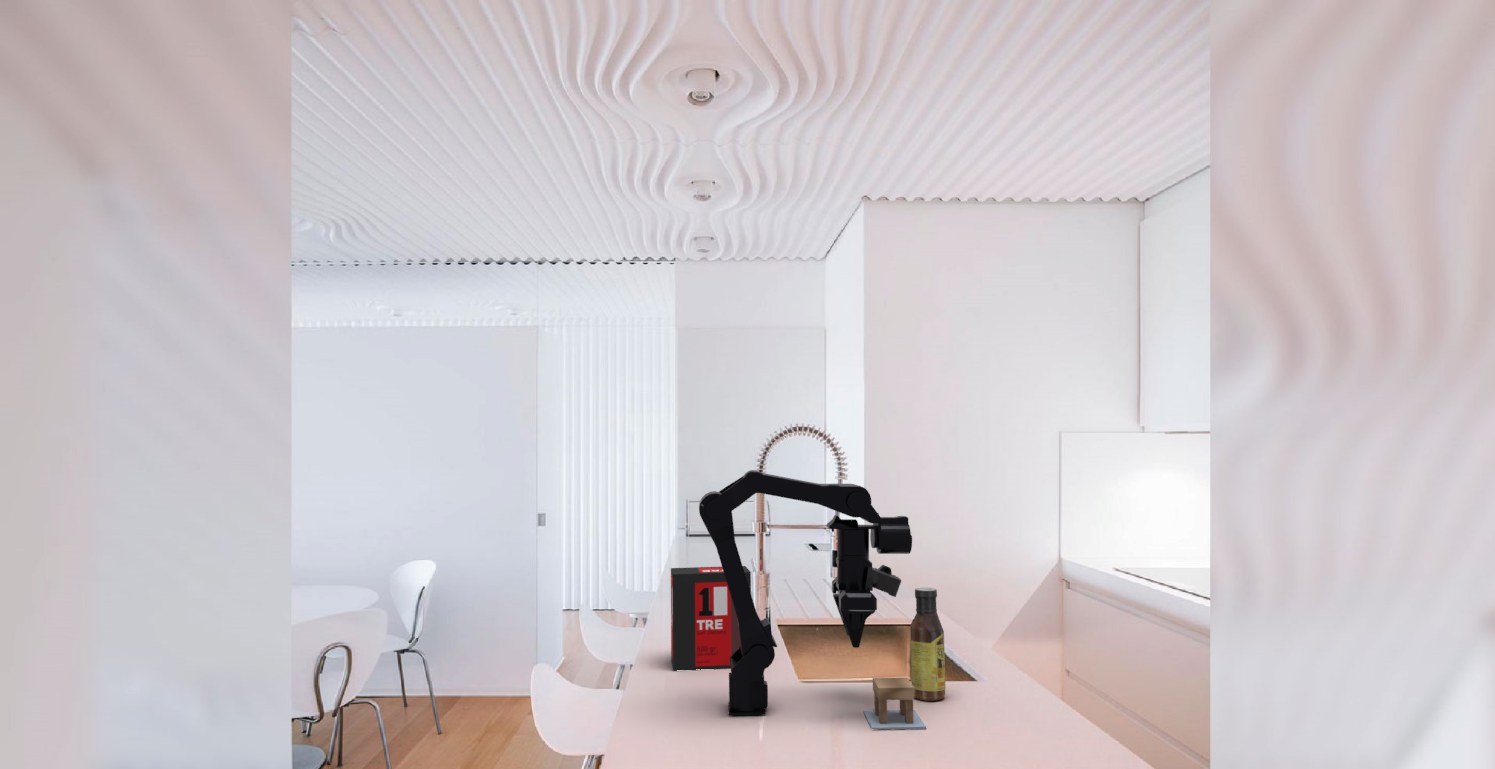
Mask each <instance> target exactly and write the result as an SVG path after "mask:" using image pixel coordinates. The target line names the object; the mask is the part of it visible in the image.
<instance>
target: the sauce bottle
mask: <svg viewBox="0 0 1495 769" xmlns="http://www.w3.org/2000/svg"><path fill="white" fill-rule="evenodd" d="M937 597H938V591H937V589H936V588H934V587H918V588H915V589H914V598H915V605H916V606H915V607H916V608H915V612H916V614H915V616H914V617H913V618H912V620H911V623H910V640H909V642H910V644H909V645H910V647H909V648H910V674H911V675H910V676H911V677H910V680H911V681H910V682H911V684H912V685H913V687H914V699H916V700H921V701H927V702H928V701H930V702H931V701H932V702H935V701H940V700H943V699H944V698H945V695H946V658H945V656H946V655H945V654H946V653H945V652H946V651H945V650H946V649H945V631H944V629H943V625H942V623H941V620H940V618H939V615H938V614H939V613H938V609H937Z"/></svg>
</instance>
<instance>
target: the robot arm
mask: <svg viewBox="0 0 1495 769" xmlns="http://www.w3.org/2000/svg"><path fill="white" fill-rule="evenodd" d="M755 494H763V495H769V496H772V497H773V496H774V497H780V498H784V499H790V500H795V501H799V502H805V503H806V502H807V503H810V504H817V505H819V506H822V507H825V508H828V509H830V510H832V511H835V512H838V513H839V514H843V515H846V516H847V517H851V518H861V520H863V521H866V522H867V523H869V524H859V523H858V520H857V519H843V518H842V519H841V518H840V516H839V515H837V514H835V515H834V516H833V517H832V519H831V520H830V521H828V522H827V523H826V525H825V526H826V527H827V528H828V529H830V530H837V536H836V537H837V539H836V540H837V541H836V542H837V543H836V544H837V548H836V549H837V552H836V553H837V557H836V558H835V563H836V565H837V566H836V567H837V571H836V572H837V573H836V575H837V576H836V577H834V579H832V581H831V592H832V597H833V601H834V603H835V606H836V608H837V611H838V613H839V616H840V618H841V621H842V624H843V627H844V630H845V633H846V635H847V636H848V638H849V640H850V642H851V646H852V648H856V649H857V648H860V645H861V641H862V636H863V632H864V629H865V624H866V620H867V619H868V618H869V617H870V616H872V615H873V614H874V613H876V611H877V610H878V599H877V597H876V595H874V593H872V591H874V590H873V589H875V590H879V591H881V592H884V593H887V594H888V595H889V596H891V597H897V595H898V592H899V590H900V589H899V588H900V586H901V583H902V579H901V578H900V577H899V576H896V575H895V574H893V573H892V568H891V567H889V566H887V565H884V564H881V565H880V566H879V568H877V567H873V563H872V562H871V560H870V546H871V548H872V549H876V552H877V554H878V555H879V554H880V555H881V554H882V555H886V554H887V555H895V554H896V555H898V554H899V555H906V554H908V555H909V554H911V552H912V548H913V536H912V532H911V527H910V524H909V517H908V516H906V515H897V516H880V515H879V514H880V513H879V512H877V510H876V508H875V507H874V506H873V505H872V497H871V494H870V493H869V491H868V490H867V488H865V487H863V486H861V485H857V484H856V483H855V484H854V483H816V482H812V481H807V480H802V479H795V478H791V477H785V476H780V475H775V474H770V473H769V474H768V473H766V472H764V473H763V472H760V471H758V470H756V469H751V470H748V471H747V472H745V473H744V475H742V476H741V477H739V478H738V479H736V480H734V481H733V482H731V483H730V484H728V485H726V486H725V487H724V488H722V489H720V490H719V491H716V490H715V491H709V492H708V493H705V494H704V495H703V496H702V497H701V499H700V501H699V504H698V511H699V516H700V518H701V520H702V522H703V524H704V526H705V528H706V530H707V532H708V534H709V536H710V537H711V538H710V539H711V540H712V541H713V543H714V545H715V547H716V548H715V549H716V552H717V554H718V557H719V561H720V565H721V567H722V568H723V571H724V575H725V578H726V581H727V585H728V588H729V591H730V595H731V598H732V601H733V605H734V608H735V612H736V615H737V620H738V630H739V639H740V647H739V648H738V649H737V650H736V651H735V653H734V654H733V655H732V656H731V657H730V658H729V661H730V667H731V669H730V672H728V716H761V715H762V716H763V715H766V709H768V708H769V705H768V704H769V702H768V700H769V690H768V688H769V687H768V681H767V680H765V673H764V672H765V670H766V669H767V668H769V667H770V666H771V665H772V664H773V662H774V660H775V656H776V654H775V648H778V645H777V642H776V639H775V636H773V634H772V632H773V631H772V625H771V623H770V621H769V618H768V617H765V618H763V619H762V620H761V617H760V616H759V614H758V612H757V609H756V607H755V603H754V601H753V596H752V592H751V593H750V589H749V586H748V583H747V579H746V576H745V573H744V569H743V566H744V565H743V564H742V559H741V556H740V553H739V550H738V546H737V543H736V539H735V538H736V537H735V527H734V518H733V511H734V510H735V509H737V508H738V507H740V506H741V505H742V504H744V503H745V502H746V501H748V500H749V499H750V498H751V497H752V496H754V495H755Z"/></svg>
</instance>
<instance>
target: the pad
mask: <svg viewBox="0 0 1495 769" xmlns="http://www.w3.org/2000/svg"><path fill="white" fill-rule="evenodd" d="M863 714H864V716H866V717H865V719H866V718H867V719H866V721H867V720H868V721H867V722H869V723H868V724H870V725H869V727H870V726H871V727H870V729H871V728H872V729H911V730H927V726H926V725H925V723H924V722H923V720H922V718H921V717H920V715H919V714H918V713H917V711H916V710H915V709H913V724H906V722H905V715H901V714H900V709H887V724H880V723H879V716H876V715H875V709H874V710H871V709H870V710H869V709H868V710H863ZM872 729H871V730H872Z"/></svg>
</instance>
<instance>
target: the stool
mask: <svg viewBox="0 0 1495 769" xmlns="http://www.w3.org/2000/svg"><path fill="white" fill-rule="evenodd" d="M872 690H873V692H874V693H873V695H874V696H873V697H874V699H873V700H874V702H873V704H874V710H875V715H876V716H879V723H880V724H887V710H888V701H899V710H900V714H901V715H905V722H906V724H913V710H914V700H915V697H914V687H913V685H912V684H911V681H910V680H909V679H908V677H872Z"/></svg>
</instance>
